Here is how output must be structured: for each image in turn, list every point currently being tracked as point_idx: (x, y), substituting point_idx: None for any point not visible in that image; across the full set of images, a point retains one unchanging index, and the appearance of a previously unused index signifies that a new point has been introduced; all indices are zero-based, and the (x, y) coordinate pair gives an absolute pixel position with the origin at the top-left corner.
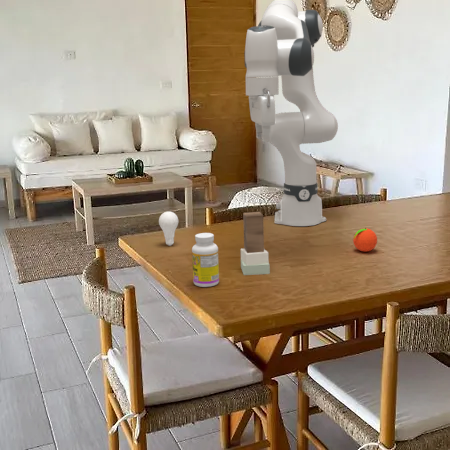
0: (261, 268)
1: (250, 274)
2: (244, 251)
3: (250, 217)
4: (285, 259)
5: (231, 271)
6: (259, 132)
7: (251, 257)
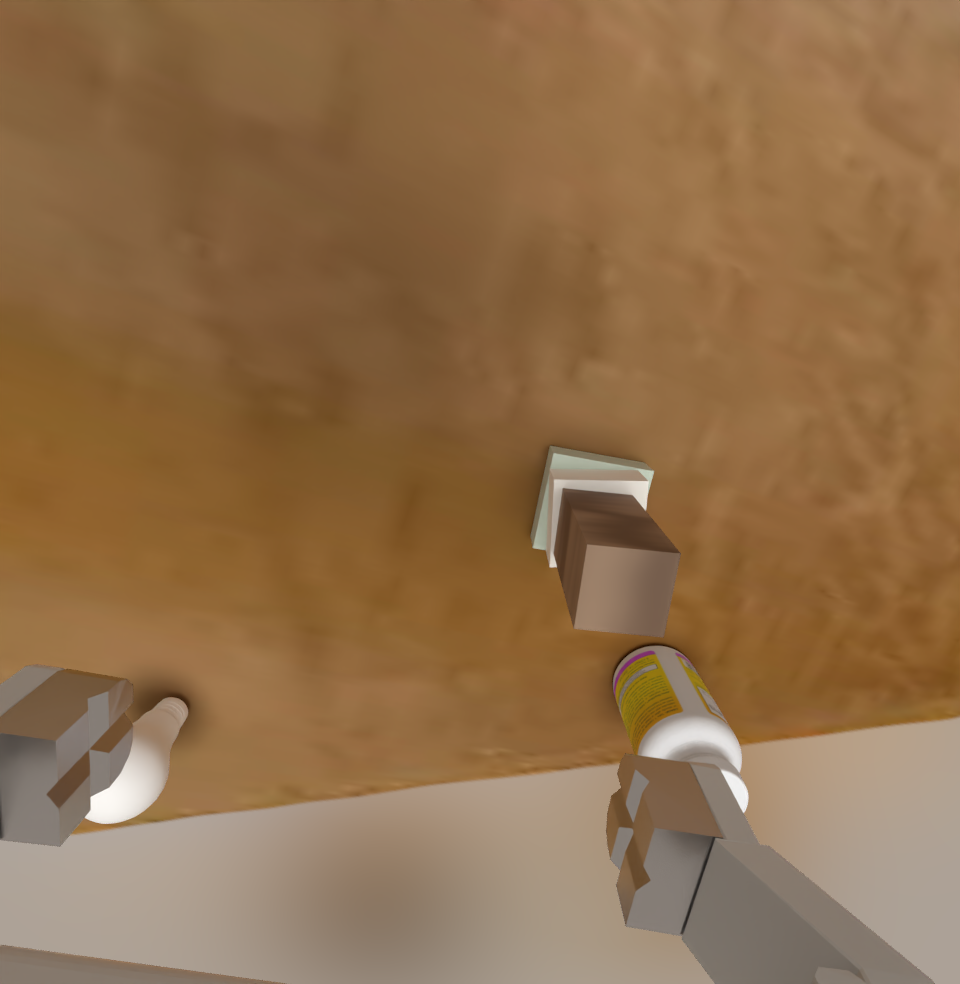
0: None
1: None
2: None
3: (666, 615)
4: (497, 342)
5: None
6: (40, 808)
7: None
